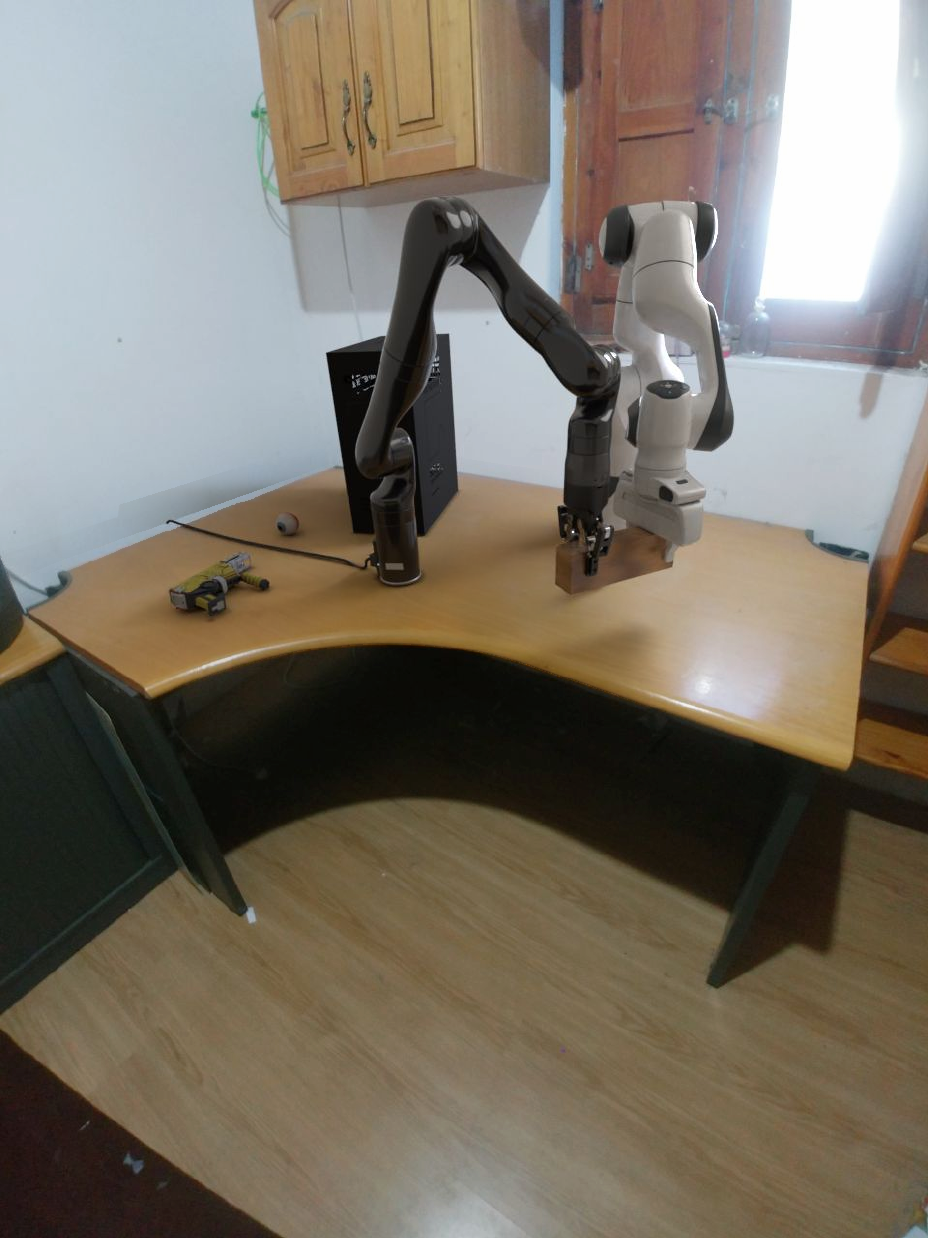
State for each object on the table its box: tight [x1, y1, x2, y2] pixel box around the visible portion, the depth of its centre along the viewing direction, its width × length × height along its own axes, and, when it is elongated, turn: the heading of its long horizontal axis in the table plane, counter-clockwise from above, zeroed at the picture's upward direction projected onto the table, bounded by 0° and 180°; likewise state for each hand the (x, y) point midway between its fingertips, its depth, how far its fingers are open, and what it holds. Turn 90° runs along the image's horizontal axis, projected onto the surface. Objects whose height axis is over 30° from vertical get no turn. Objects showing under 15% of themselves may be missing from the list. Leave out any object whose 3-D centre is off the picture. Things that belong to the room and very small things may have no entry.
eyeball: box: [275, 511, 300, 536], centre depth 163 cm, size 6×6×6 cm
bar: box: [554, 526, 674, 596], centre depth 111 cm, size 23×5×8 cm, turn 115°
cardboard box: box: [325, 333, 459, 536], centre depth 166 cm, size 38×20×45 cm, turn 167°
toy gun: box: [168, 551, 270, 617], centre depth 135 cm, size 5×24×15 cm
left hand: (581, 568), depth 109 cm, fingers closed on bar, 5 cm apart
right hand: (650, 551), depth 114 cm, fingers open, 8 cm apart
